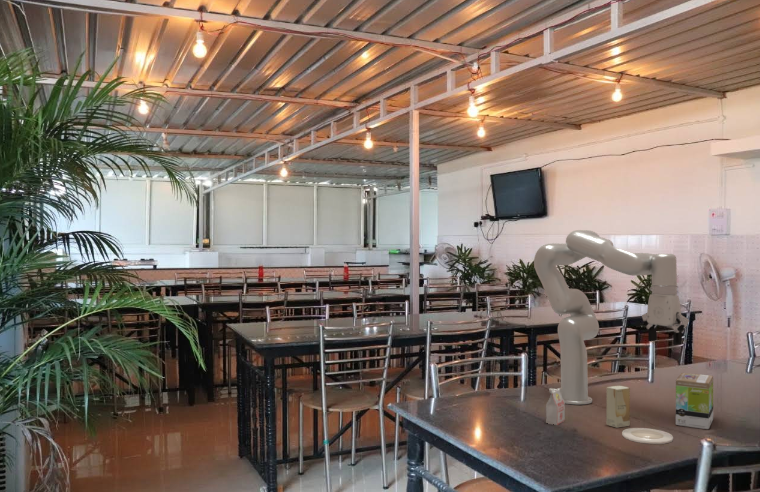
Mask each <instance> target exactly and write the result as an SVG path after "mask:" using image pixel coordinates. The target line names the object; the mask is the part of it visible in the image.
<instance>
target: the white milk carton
mask: <svg viewBox="0 0 760 492" xmlns="http://www.w3.org/2000/svg"><path fill="white" fill-rule="evenodd" d="M565 405H566V403H564V400H563V398H562V396H561V393H560V390H557V391H555V392H553V393H550V395H549V398H548V400H547V402H546V404H545V423H548V425H553V424H554V425H553V426H559V425H560V424H561V423H564V421H566V418H565V417H566V415H565V414H566V413H565V412H566V411H565V410H566V408H565V407H566V406H565Z"/></svg>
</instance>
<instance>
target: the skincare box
mask: <svg viewBox="0 0 760 492" xmlns="http://www.w3.org/2000/svg"><path fill="white" fill-rule="evenodd" d="M630 390H631V388H630V387H628V386H623V385H612V386H607V387H606V425H607V426H610V427H613V428H616V429H618V428H623V427H630V426H631V421H630V420H631V397H630V396H631V393H630V392H631V391H630Z"/></svg>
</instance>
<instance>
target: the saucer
mask: <svg viewBox="0 0 760 492" xmlns="http://www.w3.org/2000/svg"><path fill="white" fill-rule="evenodd" d="M621 435H622V437H623V438H624V439H626V440H627V441H631V442H634V443H639V444H648V445H666V444H670V443H672V442H673V441H674V437H673V435H672V434H671V433H669V432H666V431H664V430H661V429H655V428H646V427H630V428H626V429H624V430H622V432H621Z"/></svg>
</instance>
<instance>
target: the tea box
mask: <svg viewBox="0 0 760 492" xmlns="http://www.w3.org/2000/svg"><path fill="white" fill-rule="evenodd" d="M713 420H714V376H713V375H707V374H699V373H698V374H697V373H688V372H680V374H679V375H678V377H677V378H676V380H675V425H676V426H681V427H686V428H696V429H704V430H709V429H710V428H711V425H712V423H713Z"/></svg>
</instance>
